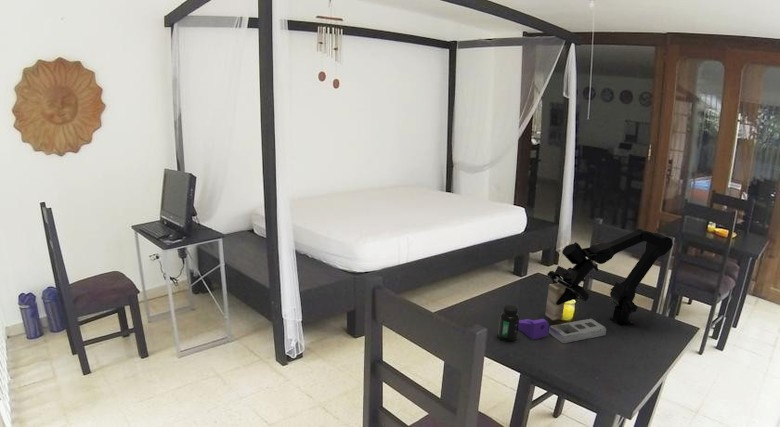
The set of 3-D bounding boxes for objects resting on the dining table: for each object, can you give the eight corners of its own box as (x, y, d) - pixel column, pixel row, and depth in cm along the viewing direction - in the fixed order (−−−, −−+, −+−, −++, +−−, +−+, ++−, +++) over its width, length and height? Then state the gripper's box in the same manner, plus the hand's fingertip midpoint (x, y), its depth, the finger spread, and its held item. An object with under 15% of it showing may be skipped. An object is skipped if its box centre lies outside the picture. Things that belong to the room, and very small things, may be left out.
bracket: (547, 337, 185) (549, 320, 183) (532, 340, 182) (534, 323, 181) (526, 322, 196) (528, 306, 194) (512, 325, 193) (514, 309, 191)
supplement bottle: (505, 343, 179) (508, 313, 176) (494, 334, 185) (497, 305, 182) (520, 340, 182) (524, 310, 178) (509, 331, 188) (512, 302, 184)
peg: (554, 313, 194) (558, 283, 191) (562, 318, 190) (566, 287, 187) (545, 315, 193) (549, 284, 189) (552, 320, 189) (556, 289, 185)
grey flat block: (590, 325, 194) (591, 318, 193) (605, 335, 187) (606, 327, 186) (548, 333, 187) (549, 325, 186) (562, 343, 180) (563, 335, 179)
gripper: (553, 251, 195) (527, 280, 194) (587, 268, 178) (558, 300, 177) (567, 267, 200) (541, 296, 199) (601, 285, 183) (573, 317, 182)
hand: (552, 301), depth 189 cm, fingers closed on peg, 4 cm apart
